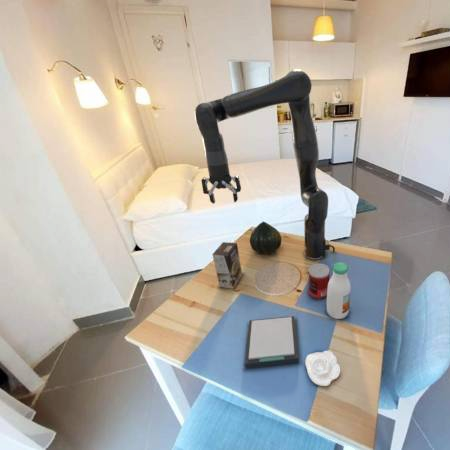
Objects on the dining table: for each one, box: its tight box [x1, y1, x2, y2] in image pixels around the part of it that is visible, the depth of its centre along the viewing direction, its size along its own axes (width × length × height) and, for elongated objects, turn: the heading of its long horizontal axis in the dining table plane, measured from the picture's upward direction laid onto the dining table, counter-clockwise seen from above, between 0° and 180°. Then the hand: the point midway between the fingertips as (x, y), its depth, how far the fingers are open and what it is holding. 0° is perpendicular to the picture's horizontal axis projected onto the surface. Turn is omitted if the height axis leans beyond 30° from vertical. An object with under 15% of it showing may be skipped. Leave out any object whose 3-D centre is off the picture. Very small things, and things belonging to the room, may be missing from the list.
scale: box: [244, 315, 299, 370], centre depth 77 cm, size 15×15×3 cm
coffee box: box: [212, 241, 243, 290], centre depth 100 cm, size 9×6×16 cm
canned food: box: [308, 263, 331, 300], centre depth 94 cm, size 8×8×11 cm
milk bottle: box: [326, 261, 352, 320], centre depth 84 cm, size 8×8×20 cm
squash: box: [249, 221, 282, 255], centre depth 121 cm, size 14×15×15 cm
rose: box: [304, 350, 341, 387], centre depth 69 cm, size 10×4×10 cm
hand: (224, 202), depth 100 cm, fingers open, 8 cm apart
